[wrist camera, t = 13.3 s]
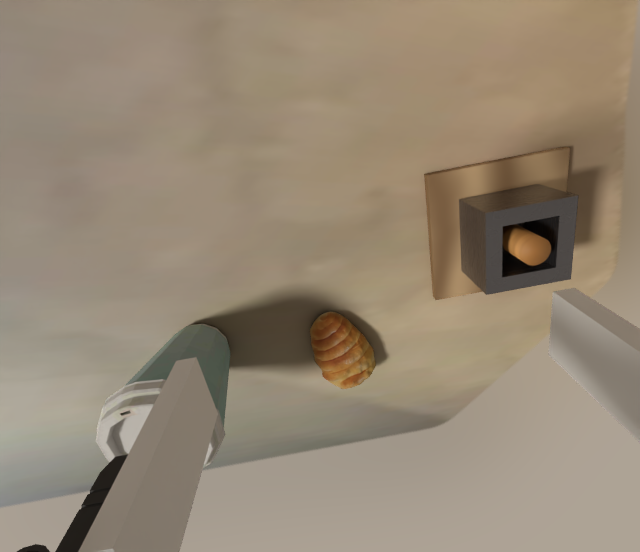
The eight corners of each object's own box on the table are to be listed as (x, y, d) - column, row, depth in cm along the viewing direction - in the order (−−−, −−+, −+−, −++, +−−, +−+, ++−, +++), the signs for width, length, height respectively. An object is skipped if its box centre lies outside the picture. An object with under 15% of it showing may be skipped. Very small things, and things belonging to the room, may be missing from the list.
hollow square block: (461, 270, 41) (486, 294, 35) (458, 199, 38) (485, 213, 32) (534, 257, 41) (570, 279, 35) (537, 183, 38) (578, 195, 32)
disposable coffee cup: (260, 365, 46) (242, 473, 32) (182, 393, 47) (132, 508, 33) (220, 294, 42) (180, 381, 28) (135, 325, 43) (57, 424, 29)
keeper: (432, 296, 43) (459, 333, 36) (424, 174, 38) (454, 187, 30) (554, 273, 43) (606, 306, 35) (563, 146, 37) (627, 154, 30)
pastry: (295, 323, 44) (295, 341, 41) (346, 298, 43) (350, 314, 40) (331, 379, 48) (333, 400, 44) (379, 357, 47) (385, 377, 43)
